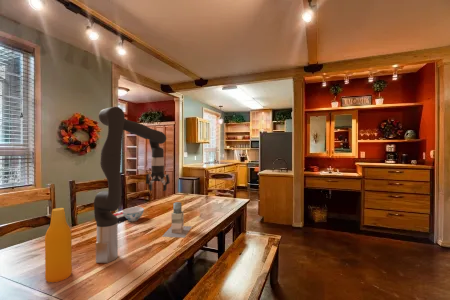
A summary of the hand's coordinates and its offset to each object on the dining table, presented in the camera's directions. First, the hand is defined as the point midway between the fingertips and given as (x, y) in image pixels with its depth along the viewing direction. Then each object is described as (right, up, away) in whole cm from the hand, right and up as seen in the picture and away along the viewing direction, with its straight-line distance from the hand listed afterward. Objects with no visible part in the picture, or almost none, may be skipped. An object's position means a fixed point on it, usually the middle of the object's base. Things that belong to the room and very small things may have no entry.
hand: (157, 190), depth 142 cm
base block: (+11, -27, +4) cm, 29 cm away
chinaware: (-28, -28, +31) cm, 50 cm away
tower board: (+11, -28, +4) cm, 31 cm away
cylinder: (+11, -15, +4) cm, 19 cm away
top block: (+11, -21, +4) cm, 24 cm away
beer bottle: (-29, -29, -44) cm, 60 cm away
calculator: (-39, -28, +32) cm, 58 cm away
